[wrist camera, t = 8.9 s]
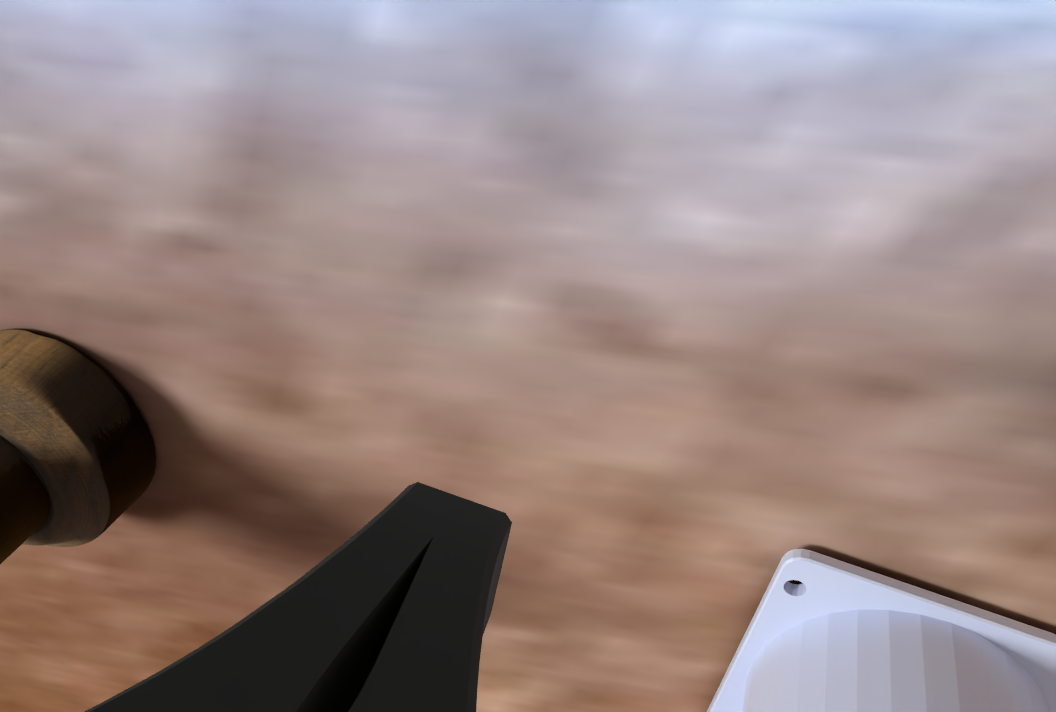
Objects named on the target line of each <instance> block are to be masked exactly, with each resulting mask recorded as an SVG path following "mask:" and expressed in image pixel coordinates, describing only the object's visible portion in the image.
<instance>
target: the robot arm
mask: <svg viewBox="0 0 1056 712" xmlns="http://www.w3.org/2000/svg"><path fill="white" fill-rule="evenodd" d="M511 524H512V522H511V521H510V519H509V518H508V516H507V515H506V513H504V512H501V511H498V510H495V509H492V508H489V507H487V506H484V505H481V504H478V503H475V502H472V501H470V500H467V499H464V498H461V497H458V496H455V495H453V494H450V493H447V492H444V491H441V490H438V489H436V488H433V487H430V486H427V485H424V484H422V483H419V482H417V483H414V484H412V485H409V486H408V487H407V488H406V489H405V490H404V491H403V492H402V493H401V494H400V495H399V496H398V497H397V498H395V499H394V500H393V501H392V502H391V503H390V504H389V505H388V506H387V507H386V508H385V509H384V510H382V511H381V512H380V513H379V514H378V515H377V516H376V517H375V518H373V519H372V520H371V521H370V522H369V523H368V524H367V525H365V526H364V527H363V528H362V529H361V530H360V531H358V532H357V533H356V534H355V535H354V536H352V537H351V538H350V539H349V540H348V541H346V542H345V543H344V544H343V545H342V546H340V547H339V548H338V549H337V550H335V551H334V552H333V553H332V554H330V555H329V556H328V557H327V558H325V559H324V560H323V561H321V562H320V563H319V564H318V565H316V566H315V567H314V568H312V569H311V570H310V571H309V572H307V573H306V574H305V575H304V576H302V577H301V578H300V579H298V580H297V581H296V582H294V583H293V584H292V585H290V586H289V587H288V588H286V589H285V590H284V591H282V592H281V593H279V594H278V595H276V596H275V597H274V598H272V599H271V600H269V601H268V602H266V603H265V604H264V605H262V606H261V607H259V608H258V609H256V610H255V611H254V612H252V613H251V614H249V615H248V616H246V617H245V618H244V619H242V620H241V621H239V622H238V623H236V624H235V625H233V626H232V627H230V628H229V629H227V630H226V631H224V632H223V633H221V634H220V635H218V636H217V637H215V638H213V639H212V640H210V641H209V642H207V643H206V644H204V645H202V646H201V647H199V648H198V649H196V650H194V651H193V652H191V653H189V654H188V655H186V656H184V657H183V658H181V659H179V660H178V661H176V662H174V663H173V664H171V665H169V666H168V667H166V668H164V669H163V670H161V671H159V672H157V673H156V674H154V675H152V676H150V677H148V678H147V679H145V680H143V681H141V682H139V683H137V684H136V685H134V686H132V687H130V688H128V689H126V690H124V691H123V692H121V693H119V694H117V695H115V696H113V697H112V698H110V699H108V700H106V701H104V702H102V703H101V704H99V705H97V706H95V707H93V708H91V709H89V710H87V711H85V712H476V701H477V684H478V672H479V661H480V652H481V644H482V636H483V633H484V631H485V628H486V625H487V622H488V619H489V617H490V614H491V610H492V606H493V601H494V597H495V593H496V589H497V584H498V580H499V576H500V571H501V567H502V563H503V558H504V554H505V550H506V546H507V541H508V537H509V533H510V528H511ZM790 580H797V581H800V582H802V584H792V583H790V582H788V581H790ZM707 712H1056V634H1054V633H1051V632H1048V631H1045V630H1042V629H1039V628H1036V627H1033V626H1030V625H1027V624H1024V623H1021V622H1018V621H1016V620H1013V619H1010V618H1007V617H1004V616H1001V615H998V614H995V613H992V612H989V611H986V610H983V609H980V608H978V607H975V606H972V605H969V604H966V603H963V602H960V601H957V600H954V599H951V598H948V597H945V596H942V595H939V594H937V593H934V592H931V591H928V590H925V589H922V588H919V587H916V586H913V585H910V584H907V583H904V582H901V581H899V580H896V579H893V578H890V577H887V576H884V575H881V574H878V573H875V572H872V571H869V570H866V569H863V568H861V567H858V566H855V565H852V564H849V563H846V562H843V561H840V560H837V559H834V558H831V557H828V556H825V555H823V554H820V553H817V552H814V551H811V550H806V549H793V550H791V551H789V552H787V553H786V554H785V555H784V556H783V557H782V559H781V561H780V563H779V565H778V567H777V569H776V571H775V573H774V575H773V578H772V580H771V582H770V584H769V586H768V588H767V590H766V592H765V594H764V596H763V598H762V600H761V602H760V604H759V606H758V608H757V610H756V612H755V614H754V616H753V618H752V620H751V622H750V624H749V626H748V628H747V631H746V633H745V635H744V637H743V639H742V641H741V643H740V645H739V647H738V649H737V651H736V653H735V655H734V657H733V659H732V661H731V663H730V665H729V667H728V669H727V671H726V673H725V675H724V677H723V679H722V682H721V684H720V686H719V688H718V690H717V692H716V694H715V696H714V698H713V700H712V702H711V704H710V706H709V708H708V710H707Z"/></svg>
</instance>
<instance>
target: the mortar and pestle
mask: <svg viewBox="0 0 1056 712" xmlns="http://www.w3.org/2000/svg"><path fill="white" fill-rule="evenodd" d="M155 461H156V458H155V448H154V444H153V440H152V438H151V436H150V433H149V430H148V428H147V426H146V424H145V422H144V420H143V418H142V416H141V415H140V413H139V411H138V410H137V408H136V406H135V405H134V403H133V402H132V401H131V400H130V398H129V397H128V395H127V394H126V393H125V391H124V390H123V389H122V388H121V387H120V386H119V385H118V383H117V382H116V381H115V380H114V379H113V378H112V377H111V376H110V375H109V374H108V373H107V372H105V371H104V370H103V369H102V368H101V367H100V366H99V365H97V364H96V363H95V362H93V361H92V360H91V359H89V358H88V357H86V356H85V355H83V354H82V353H81V352H79V351H77V350H76V349H74V348H72V347H70V346H69V345H67V344H65V343H63V342H60V341H58V340H56V339H53V338H49V337H45V336H41V335H37V334H34V333H32V332H29V331H26V330H14V329H8V330H0V564H1V563H2V562H3V561H4V560H5V559H6V558H7V557H8V556H10V555H11V554H12V553H13V552H14V551H15V550H16V549H17V548H18V547H19V546H20V545H21V544H26V545H49V546H56V547H73V546H79V545H83V544H86V543H88V542H90V541H92V540H94V539H95V538H97V537H98V536H99V535H101V534H102V533H103V532H104V531H105V530H106V529H107V528H108V527H109V526H110V525H111V524H112V523H113V522H114V521H115V520H116V519H117V518H118V517H119V516H120V515H121V514H122V513H123V512H124V511H125V510H126V509H127V508H128V507H129V506H130V505H132V504H133V503H134V502H135V501H136V500H137V499H138V498H139V497H140V496H141V494H142V493H143V492H144V491H145V490H146V488H147V487H148V485H149V484H150V482H151V480H152V477H153V475H154V471H155Z"/></svg>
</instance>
